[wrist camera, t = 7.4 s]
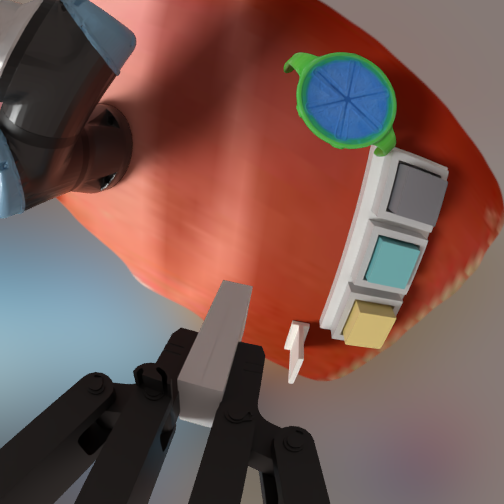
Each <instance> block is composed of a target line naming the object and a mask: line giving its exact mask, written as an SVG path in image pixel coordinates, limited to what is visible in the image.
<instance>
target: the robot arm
mask: <svg viewBox="0 0 504 504" xmlns="http://www.w3.org/2000/svg"><path fill="white" fill-rule="evenodd" d="M135 46H136V37H135V35H134V33H133V32H132V31H131V30H129V29H128V28H127V27H126V26H124V25H123V24H122V23H120V22H119V21H118V20H116V19H115V18H114V17H112V16H111V15H109V14H108V13H107V12H105V11H104V10H102V9H101V8H99V7H98V6H96V5H95V4H93V3H92V2H90V1H89V0H33V1H30V2H28V3H24V4H22V3H18V2H15V1H11V0H0V102H3V104H2V107H1V109H0V218H7V217H10V216H12V215H15V214H22V213H23V212H24V211H25V210H28V209H30V208H32V207H34V206H36V205H39V204H41V203H43V202H46V201H48V200H50V199H53V198H55V197H57V196H60V195H62V194H65V193H68V192H70V191H73V192H82V193H98V192H101V191H104V190H106V189H109V188H111V187H113V186H114V185H115V184H117V183H118V182H119V181H120V179H121V178H122V177H123V175H124V174H125V172H126V170H127V168H128V165H129V163H130V159H131V154H132V135H131V130H130V127H129V124H128V122H127V120H126V118H125V117H124V115H123V114H122V113H121V112H120V111H119V110H118V109H116V108H115V107H113V106H111V105H107V104H98V102H99V101H100V99H101V98H102V96H103V95H104V93H105V92H106V90H107V89H108V87H109V86H110V84H111V83H112V81H113V80H114V79H115V77H116V76H118V75H119V74H120V70H121V68H122V66H123V65H124V63H125V62H126V60H127V59H128V58H129V56H130V55H131V53H132V52H133V51H134V49H135ZM252 287H253V286H248V285H244V284H239V283H234V282H230V281H225V280H223V282H222V284H221V286H220V288H219V290H218V292H217V294H216V297H215V299H214V301H213V303H212V305H211V307H210V309H209V311H208V314H207V316H206V318H205V320H204V322H203V325H202V327H201V329H200V331H199V332H195V331H192V330H188V329H184V328H180V329H179V330H177V331H176V332H174V333H173V334H172V335H171V337H170V339H169V341H168V343H167V344H166V346H165V348H164V350H163V351H162V353H161V355H160V356H159V358H158V360H157V362H156V363H144V364H142V365H140V366H138V367H137V368H136V369H135V370H134V371H133V373H134V378H135V382H136V384H120V383H112V380H111V379H110V378H109V377H108V376H107V375H105V374H103V373H97V372H94V373H89V374H88V375H86V376H84V377H83V378H82V379H80V380H79V381H78V382H77V383H76V384H75V385H73V386H72V387H71V388H70V389H69V390H68V391H66V392H65V393H64V394H63V395H62V396H61V397H59V398H58V399H57V400H56V401H55V402H54V403H52V404H51V405H50V406H49V407H48V408H47V409H45V410H44V411H43V412H42V413H41V414H40V415H39V416H37V417H36V418H35V419H34V420H33V421H32V422H31V423H29V424H28V425H27V426H26V427H25V428H24V429H22V430H21V431H20V432H19V433H18V434H17V435H16V436H14V437H13V438H12V439H11V440H10V441H9V442H8V443H6V444H5V445H4V446H3V447H2V448H1V449H0V504H53V503H54V502H55V501H56V500H57V499H58V498H59V497H60V496H61V495H62V494H63V493H64V492H65V491H66V490H67V489H68V488H69V487H70V486H71V485H72V484H73V483H74V482H75V481H76V480H77V479H78V478H79V477H80V476H81V475H82V474H83V473H84V472H85V471H86V470H87V469H88V468H89V467H90V466H91V464H92V463H93V462H94V461H95V460H96V461H95V463H94V466H93V467H92V469H91V471H90V473H89V475H88V477H87V479H86V481H85V483H84V485H83V487H82V489H81V491H80V493H79V495H78V497H77V499H76V501H75V503H74V504H148V502H149V499H150V496H151V494H152V491H153V488H154V486H155V483H156V480H157V478H158V475H159V472H160V470H161V467H162V464H163V462H164V459H165V457H166V454H167V452H168V449H169V446H170V444H171V441H172V438H173V436H174V433H175V430H176V421H177V418H178V416H180V419H182V420H185V421H188V422H192V423H195V424H199V425H203V426H207V427H211V431H210V435H209V437H208V441H207V444H206V447H205V451H204V454H203V457H202V460H201V464H200V467H199V470H198V474H197V477H196V480H195V483H194V487H193V490H192V493H191V496H190V499H189V503H188V504H240V502H241V498H242V493H243V487H244V483H245V478H246V473H247V468H248V466H250V467H252V468H254V469H256V470H258V471H259V476H260V483H261V490H262V498H263V504H330V501H329V497H328V493H327V489H326V485H325V481H324V478H323V474H322V470H321V466H320V462H319V458H318V455H317V450H316V447H315V443H314V440H313V438H312V436H311V434H310V433H308V432H307V431H306V430H305V429H303V428H300V427H296V426H289V427H285V428H280V427H278V426H276V425H274V424H272V423H270V422H268V421H266V420H265V419H264V418H263V417H262V416H261V414H260V413H259V410H258V398H259V392H260V386H261V380H262V373H263V366H264V361H265V354H264V351H263V348H262V346H258V345H253V344H248V343H244V342H241V339H242V336H243V332H244V328H245V323H246V318H247V313H248V308H249V303H250V298H251V292H252Z"/></svg>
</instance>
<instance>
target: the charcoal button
mask: <svg viewBox="0 0 504 504" xmlns="http://www.w3.org/2000/svg"><path fill="white" fill-rule="evenodd" d="M447 184H448V181H445V180H443V179H440V178H438V177H436V176H433V175H431V174H428V173H425V172H423V171H420V170H418V169H415V168H412V167H409V166H406V165H403V164H400V163H398V166H397V171H396V175H395V179H394V183H393V187H392V191H391V194H390V198H389V202H388V205H387V208H389V209H390V210H391V211H392V212H393V213H395V214H396V215H398V216H402V217H405V218H408V219H412V220H415V221H418V222H421V223H425V224H428V225H431V226H434V227H435V225H436V222H437V219H438V216H439V212H440V209H441V206H442V202H443V199H444V195H445V192H446V188H447Z"/></svg>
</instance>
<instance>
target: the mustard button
mask: <svg viewBox="0 0 504 504" xmlns="http://www.w3.org/2000/svg"><path fill="white" fill-rule="evenodd" d="M395 320H396V316H395V314H394V312H393V309H392V307H391V305H385V304H379V303H374V302H368V301H363V300H357V299H355V301H354V303H353V306H352V308H351V311H350V313H349V315H348V318H347V320H346V322H345V325H344V327H343V329H342V330H343V335H344V340H345V344H346V345H354V346H361V347H369V348H377V349H380V348H381V346H382V345H383V343H384V341H385V339H386V337H387V336H388V334H389V332H390V330H391V328H392V326H393V324H394V322H395Z"/></svg>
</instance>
